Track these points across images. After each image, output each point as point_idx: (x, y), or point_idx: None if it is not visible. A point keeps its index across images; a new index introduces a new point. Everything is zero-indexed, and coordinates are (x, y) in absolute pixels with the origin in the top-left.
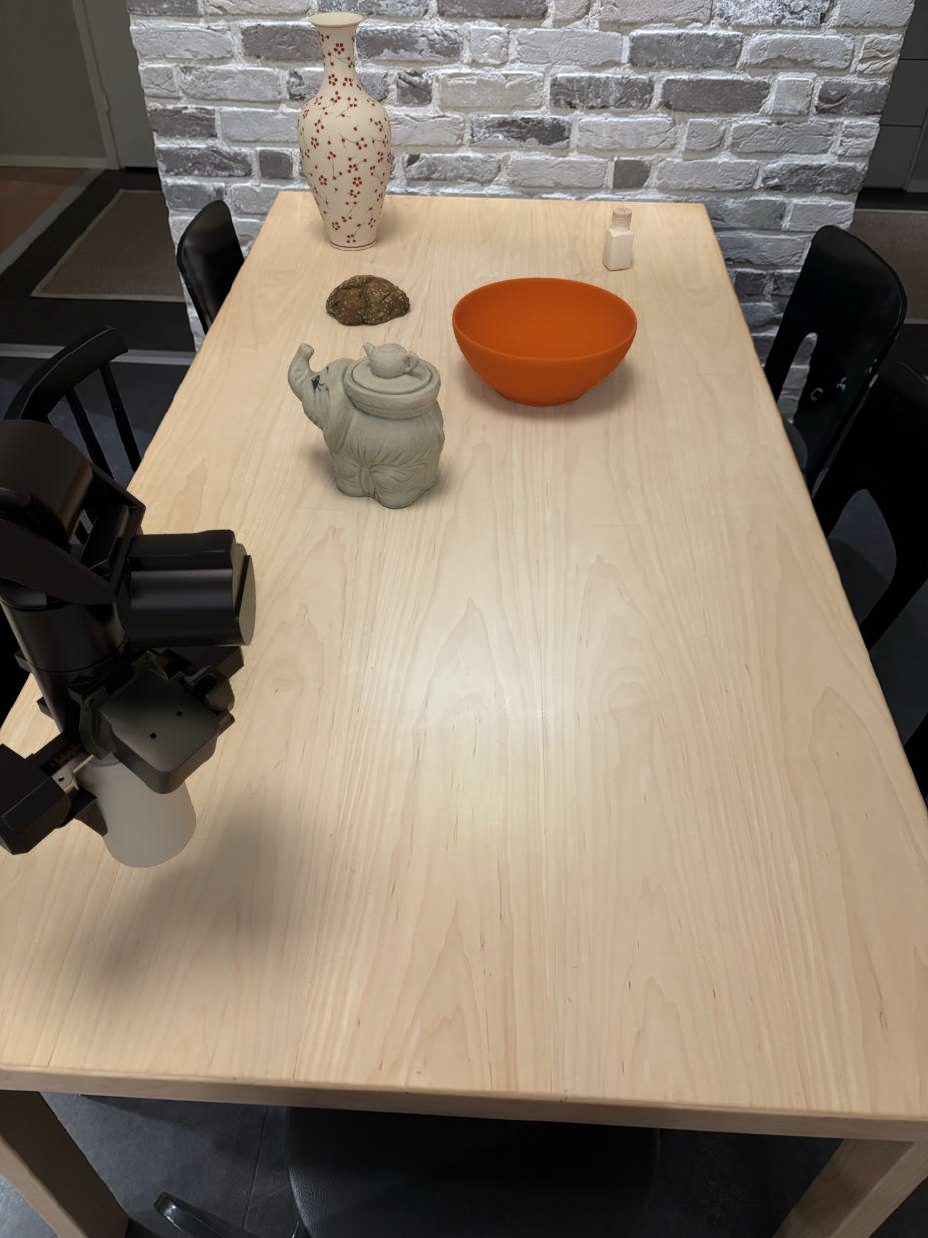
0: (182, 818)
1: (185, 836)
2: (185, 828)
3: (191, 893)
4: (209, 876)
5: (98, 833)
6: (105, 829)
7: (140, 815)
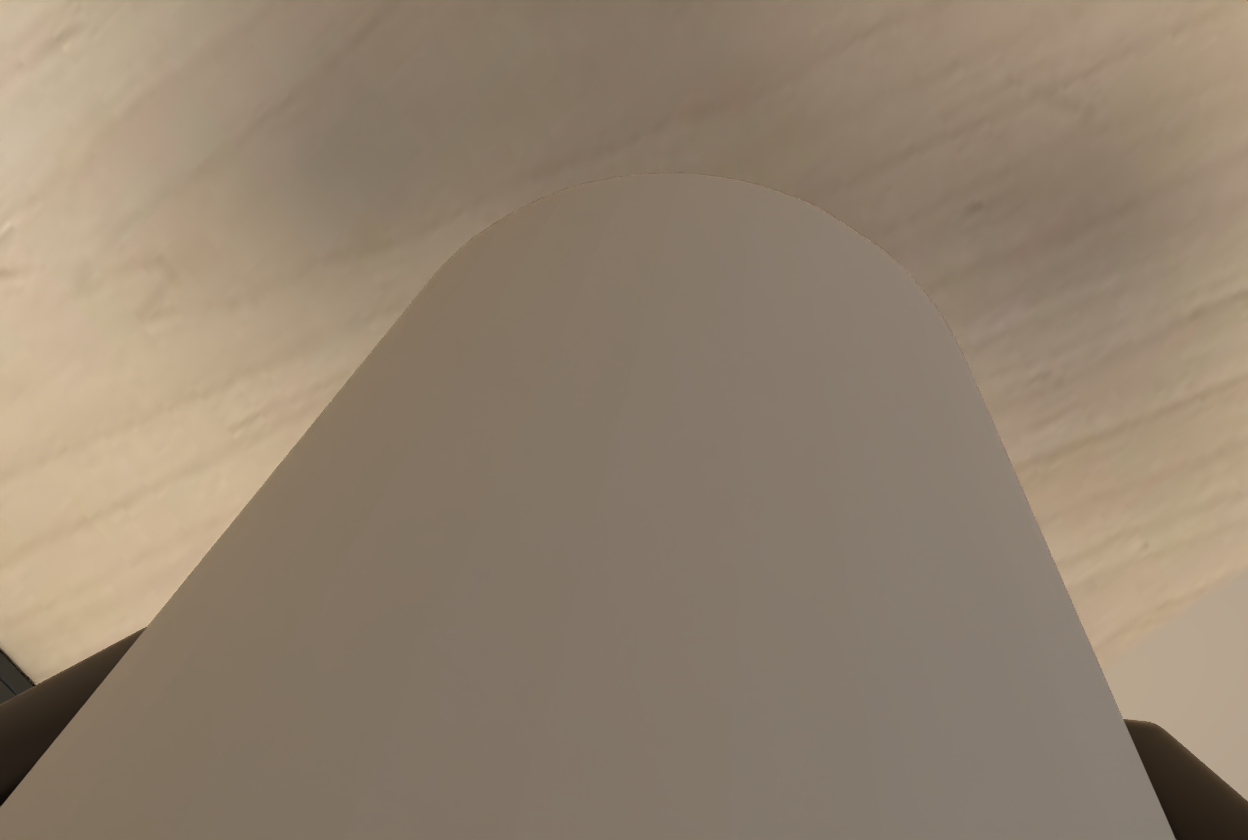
0: (550, 272)
1: (618, 199)
2: (580, 225)
3: (679, 168)
4: (573, 156)
5: (1244, 802)
6: (1152, 772)
7: (972, 608)
